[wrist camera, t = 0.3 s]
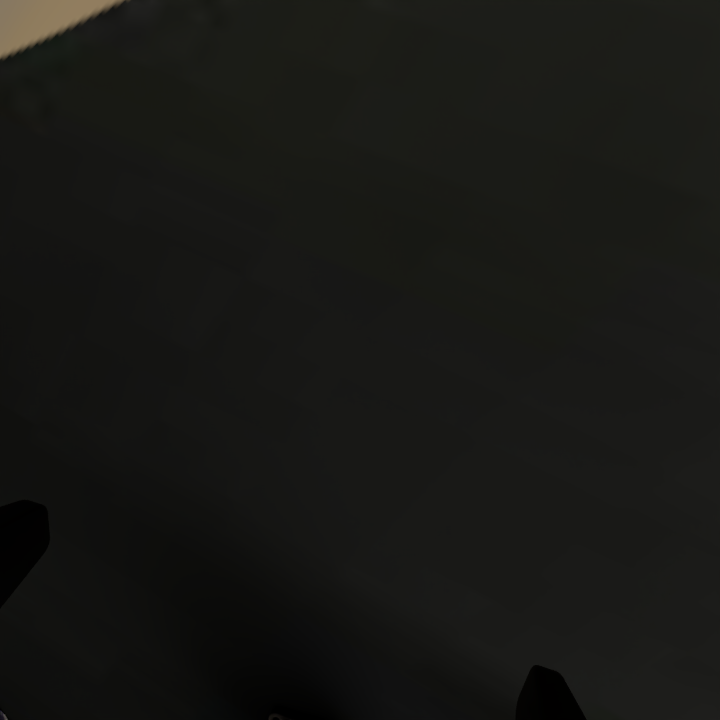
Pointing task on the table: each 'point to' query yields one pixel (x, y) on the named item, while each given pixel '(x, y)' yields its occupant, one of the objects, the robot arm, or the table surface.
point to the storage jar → (2, 716)
